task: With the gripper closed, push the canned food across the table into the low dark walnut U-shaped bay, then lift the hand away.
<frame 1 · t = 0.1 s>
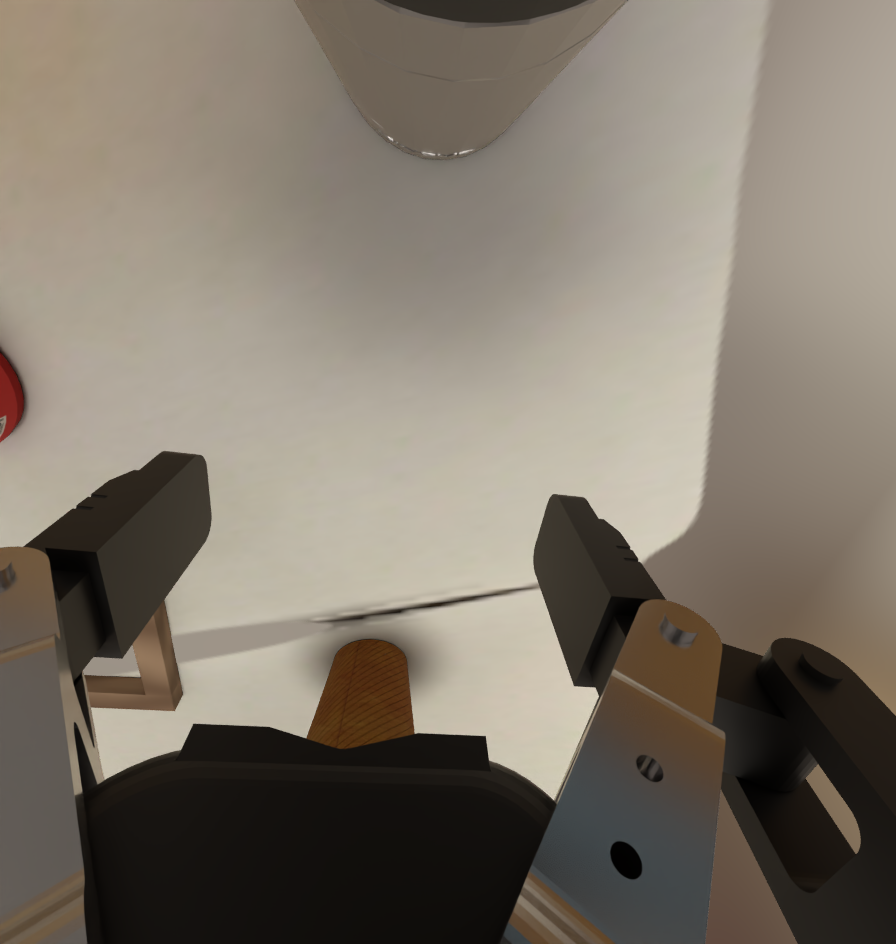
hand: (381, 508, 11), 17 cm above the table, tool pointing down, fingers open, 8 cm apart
walnut bay: (44, 618, 35), on the table
disposable coffee cup: (371, 661, 39), on the table
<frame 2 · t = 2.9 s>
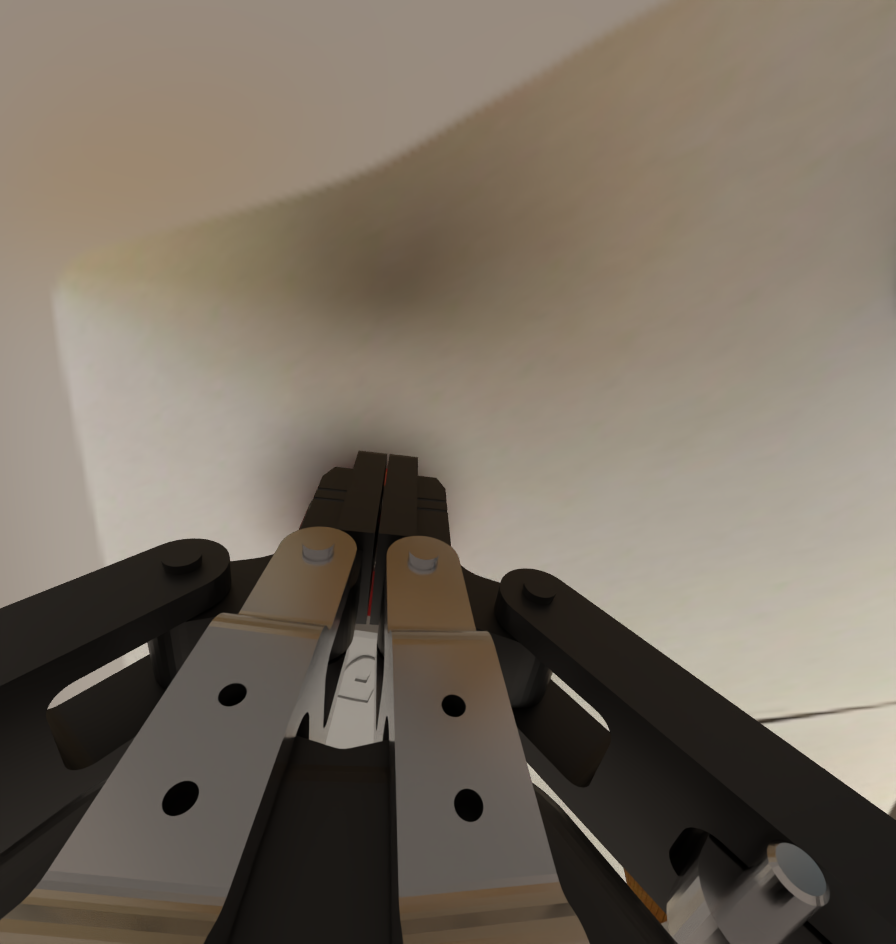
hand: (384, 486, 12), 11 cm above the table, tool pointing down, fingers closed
canned food: (377, 523, 25), on the table
disposable coffee cup: (641, 772, 38), on the table
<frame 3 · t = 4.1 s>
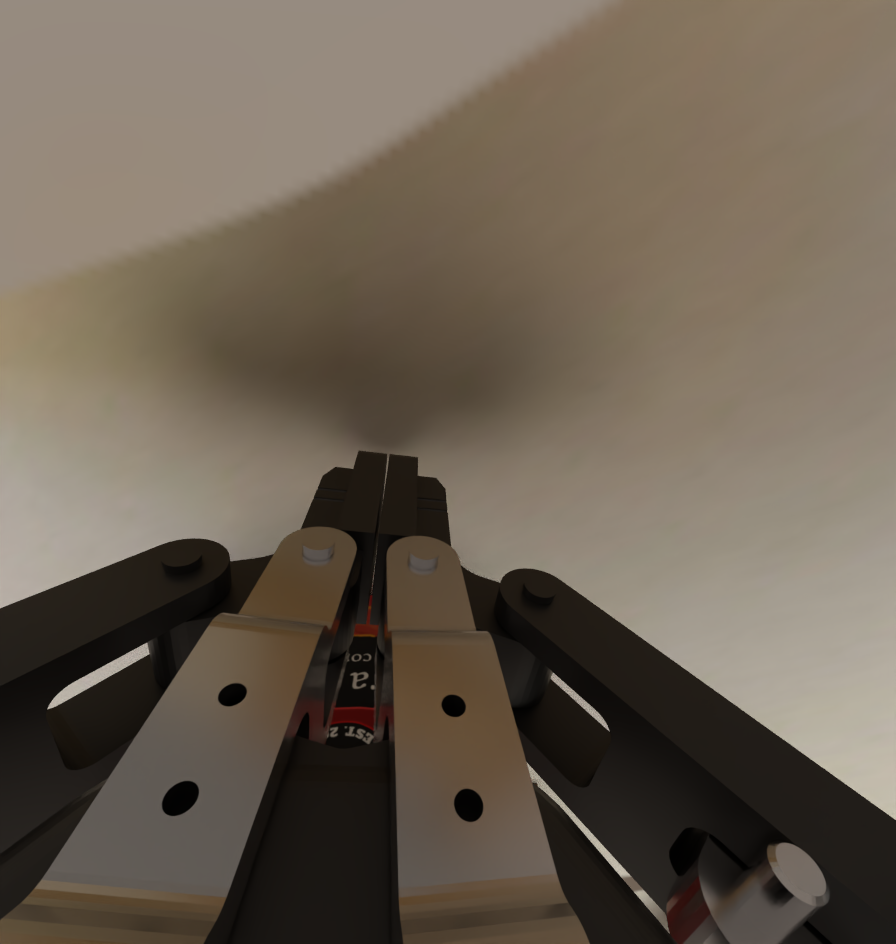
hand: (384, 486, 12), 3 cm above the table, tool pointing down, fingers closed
canned food: (369, 659, 18), on the table
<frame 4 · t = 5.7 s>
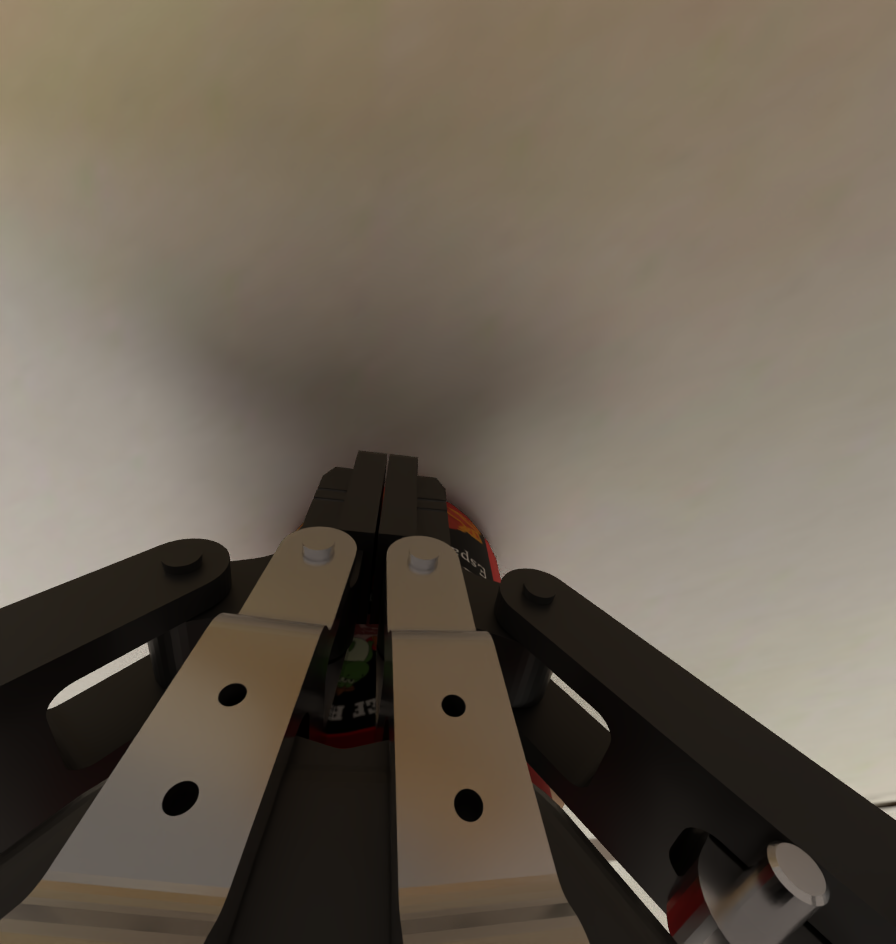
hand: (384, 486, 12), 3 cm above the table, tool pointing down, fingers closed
canned food: (391, 572, 16), on the table, touching gripper
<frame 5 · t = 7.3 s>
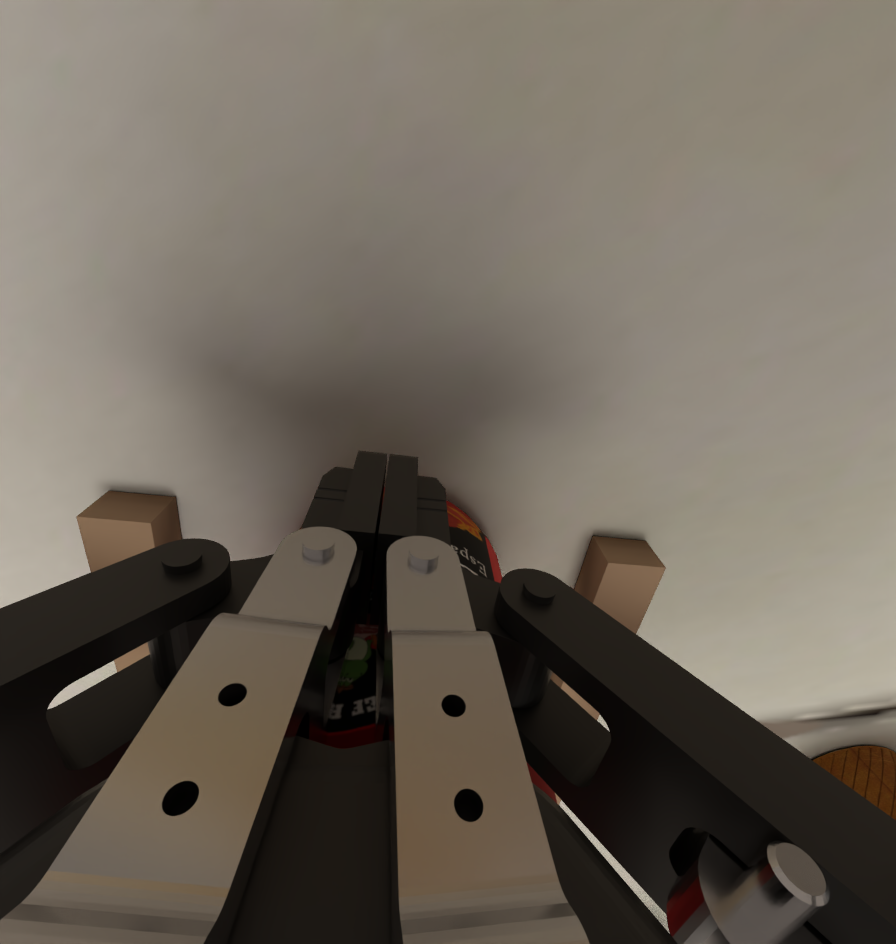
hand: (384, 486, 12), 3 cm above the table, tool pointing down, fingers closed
walnut bay: (372, 725, 20), on the table
canned food: (393, 571, 17), on the table, touching gripper
disposable coffee cup: (834, 776, 24), on the table
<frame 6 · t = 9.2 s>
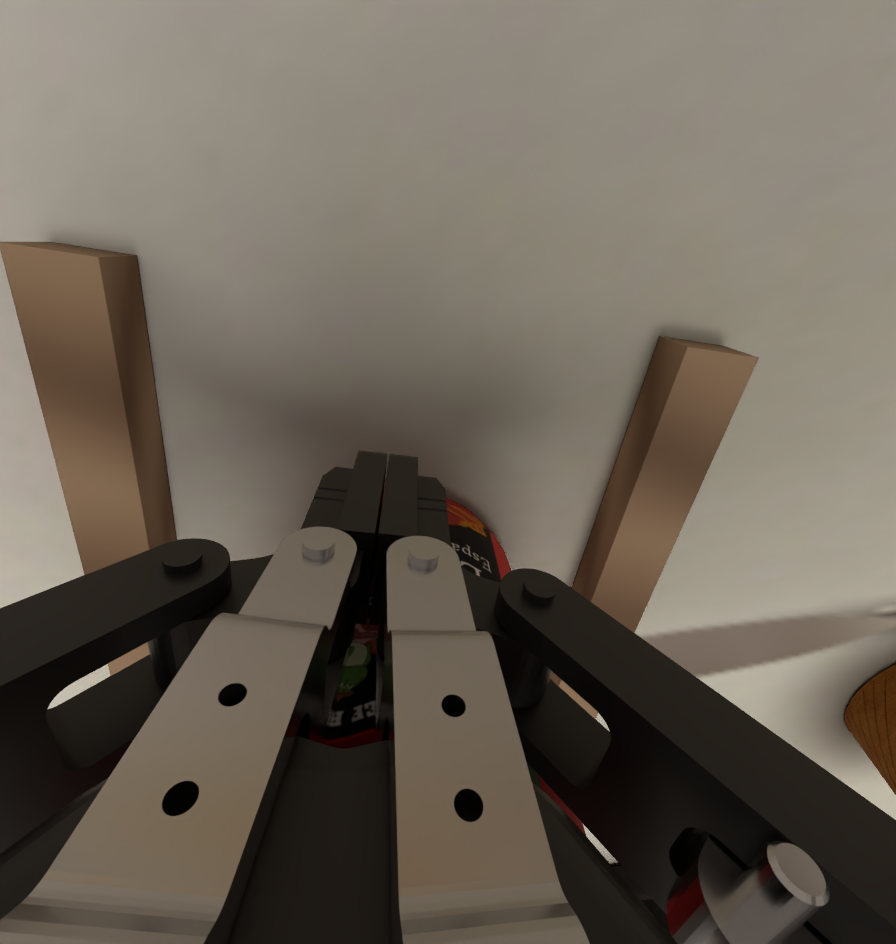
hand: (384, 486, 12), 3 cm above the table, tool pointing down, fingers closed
walnut bay: (380, 608, 17), on the table
canned food: (403, 574, 17), on the table, touching gripper, hand
portable speaker: (620, 886, 29), on the table
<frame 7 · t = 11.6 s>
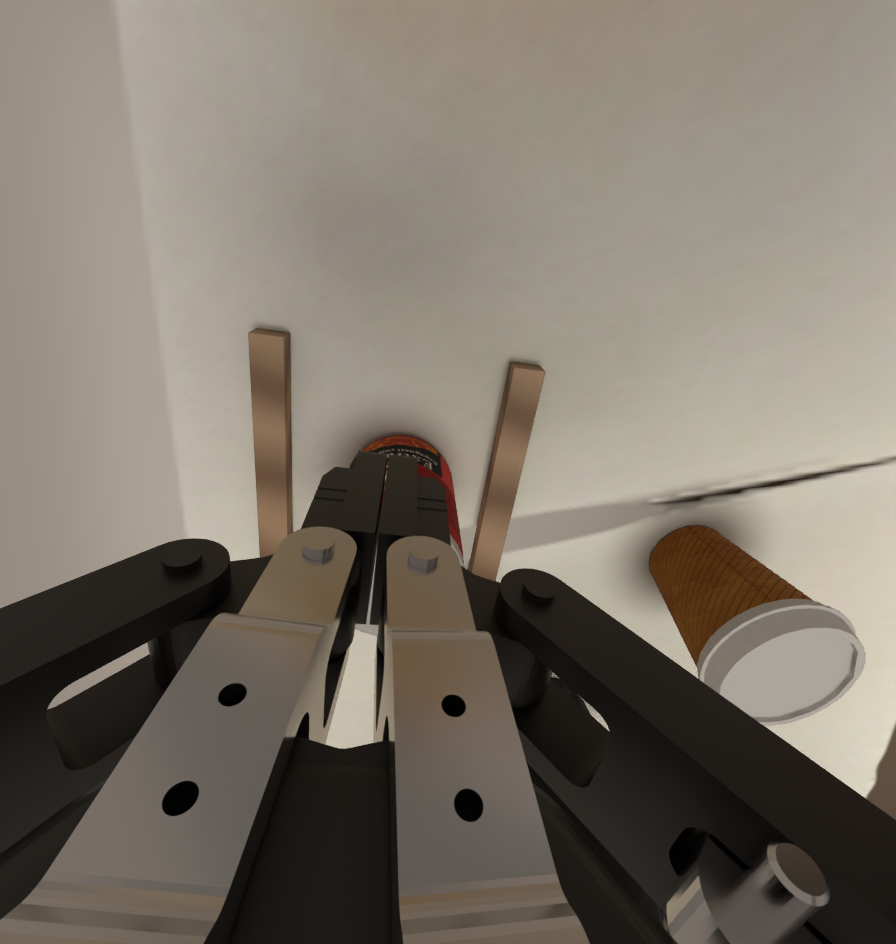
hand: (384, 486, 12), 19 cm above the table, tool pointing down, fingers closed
walnut bay: (388, 497, 34), on the table
canned food: (400, 480, 33), on the table
portable speaker: (540, 701, 45), on the table
disposable coffee cup: (684, 554, 38), on the table
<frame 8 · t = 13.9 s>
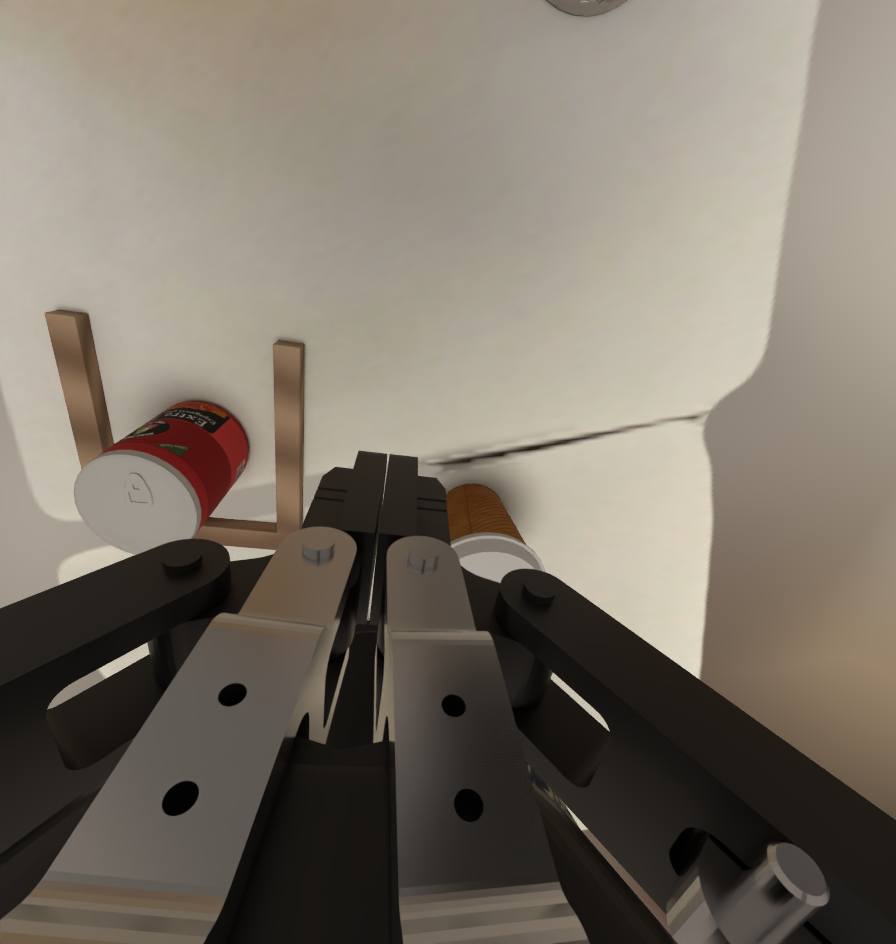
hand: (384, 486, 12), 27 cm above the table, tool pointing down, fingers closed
walnut bay: (198, 455, 40), on the table
canned food: (207, 441, 40), on the table
portable speaker: (373, 643, 52), on the table
jug: (499, 754, 63), on the table
disposable coffee cup: (470, 510, 44), on the table
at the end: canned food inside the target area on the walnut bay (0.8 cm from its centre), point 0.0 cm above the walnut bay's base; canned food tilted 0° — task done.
